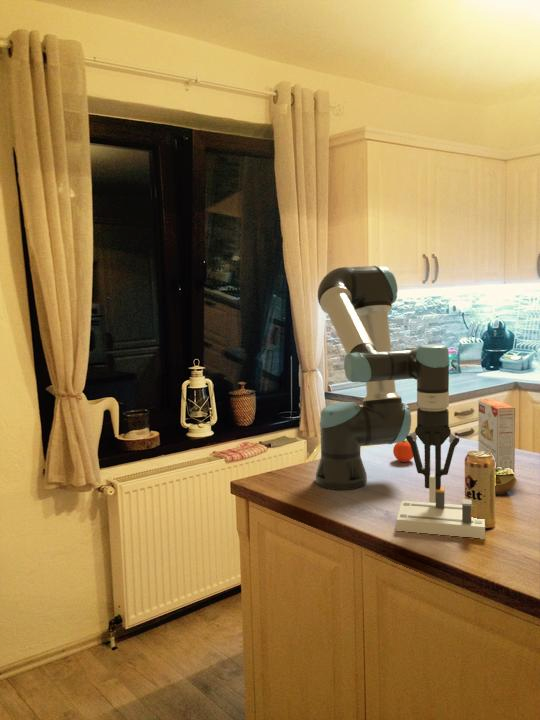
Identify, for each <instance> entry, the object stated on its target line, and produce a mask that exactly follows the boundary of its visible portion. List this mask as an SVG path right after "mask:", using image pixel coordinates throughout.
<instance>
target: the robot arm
mask: <svg viewBox="0 0 540 720" xmlns="http://www.w3.org/2000/svg"><path fill="white" fill-rule="evenodd" d="M397 298H398V283H397V279H396V277H395V274H394V273H393V271H392V270H391V269H390V268H388V266H380V265H379V266H378V265H372V266H368V265H367V266H348V267H347V266H344V267H341V266H340V267H338V268H334V269H332V270H330V271H329V272H328V273H326V275H325V276H324V277H323V279H321V281H320V284H319V285H318V289H317V300H318V303H319V307H320V309H321V310H322V311H323V312H324V313H325V314H327V315H328V317H329V320H330V321H331V324H332V326H333V328H334V330H335V332H336V334H337V336H338V339H339V340H340V342H341V345H342V347H343V349H344V351H345V353H346V355H345V357H344V362H343V368H344V373H345V377H346V379H347V380H348V381H349V382H351V383H365V388H366V395H365V397H364V398H363V399H362V406H361V405H360V403H359V402H356V401H348V402H347V401H342V402H341V401H340V402H336V403H332V404H329V405H326V406H325V407H324V408H322V410H321V412H320V417H319V427H320V430H319V431H320V454H321V455H320V459H319V462H318V466H317V469H316V472H315V483H316V484H317V485H318V486H320V487H321V488H324V489H327V490H329V489H330V490H339V491H340V490H341V491H342V490H343V491H344V490H345V491H346V490H354V489H359V488H361V487H364V486H365V485H366V484H367V483H368V477H367V476H368V474H367V472H366V469H365V465H364V463H363V461H362V460H363V459H362V457H361V448H362V447H365V446H367V447H368V446H379V445H393V444H396V443H399V442H402V441H404V440H407V441H408V442H409V444H410V445H411V449H412V453H413V461H414V464H415V468H416V471H417V473H418V474H422V475H423V476H424V488H425V489H428V491H429V493H428V494H429V496H428V497H429V499H428V500H429V501H428V503H436V489H440V487H441V486H442V476H447V475H448V474H449V471H450V467H451V464H452V460H453V456H454V452H455V448H456V446H457V445H458V444H459V442H460V436H459V435H455V434H454V433H453V432H452V431H451V427H450V424H449V423H450V421H449V420H450V419H449V418H450V416H449V415H450V413H449V412H450V411H449V409H448V408H449V405H450V400H449V399H450V397H449V395H450V390H449V388H450V387H449V384H450V380H449V379H450V377H449V376H450V358H449V355H450V354H449V349H448V347H447V345H444V344H436V343H435V344H422V345H419V346H418V347H417V348H415V347H407V348H403V349H399V350H397V349H396V350H392V344H391V333H390V326H389V316H388V314H389V313H390V311H391V310H392V309H393V306H392V305H393V304H394V303H395V302H396V301H397ZM412 379H414V380H416V406H417V407H418V408H417V410H416V427H415V429H414V431H412V432H411V433H410V431H411V427H412V413H411V410H410V407H409V405H408V404H406V403H405V402H402V401H403V400H402V399H403V398H402V396H401V395H399V394H398V393H397V392H396V380H412ZM417 438H418V439H419V440H420V442H421V443H422V444H423V446H424V448H423V449H424V465H423V462H422V458H421V455H420V451H419V447H418V444H417V440H418V439H417ZM448 438H449V439H448ZM447 439H448V442H449V443H450V444H449V447H448V451H447V454H446V458H445V462H444V466H443V468H442V445H443V444H444V443H445V442H446V440H447ZM431 446H434V452H435V453H434V454H435V460H434V461H435V462H434V463H435V465H434V467H435V468H434V469H435V470H434V472H435V473H431Z"/></svg>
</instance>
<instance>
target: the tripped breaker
mask: <svg viewBox="0 0 540 720" xmlns="http://www.w3.org/2000/svg"><path fill="white" fill-rule="evenodd" d="M445 490H446V486H443V485H441V487H440V489H436V507H438V508H444V505H445V504H446V500H445V497H446V496H445V495H446V493H445V492H446V491H445Z"/></svg>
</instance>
